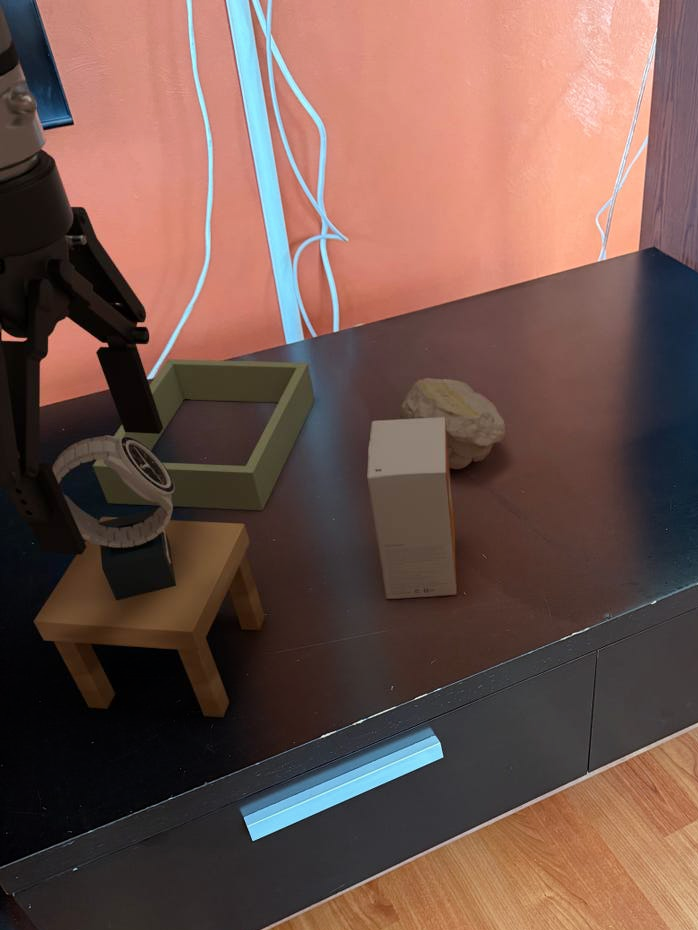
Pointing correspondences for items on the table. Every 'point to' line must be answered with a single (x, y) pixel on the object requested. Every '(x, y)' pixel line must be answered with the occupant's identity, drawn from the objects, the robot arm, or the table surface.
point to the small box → (412, 506)
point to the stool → (155, 610)
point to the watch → (130, 537)
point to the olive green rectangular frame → (223, 384)
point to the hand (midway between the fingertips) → (107, 486)
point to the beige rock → (457, 417)
